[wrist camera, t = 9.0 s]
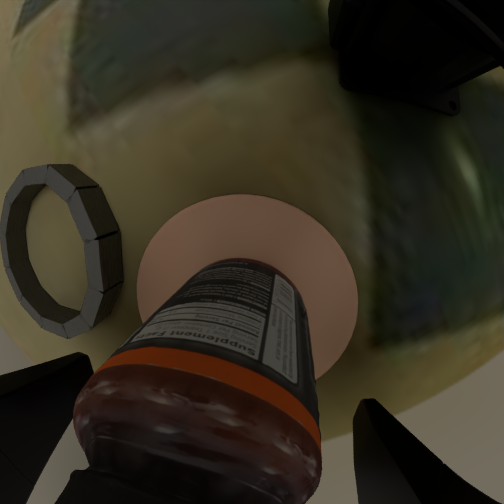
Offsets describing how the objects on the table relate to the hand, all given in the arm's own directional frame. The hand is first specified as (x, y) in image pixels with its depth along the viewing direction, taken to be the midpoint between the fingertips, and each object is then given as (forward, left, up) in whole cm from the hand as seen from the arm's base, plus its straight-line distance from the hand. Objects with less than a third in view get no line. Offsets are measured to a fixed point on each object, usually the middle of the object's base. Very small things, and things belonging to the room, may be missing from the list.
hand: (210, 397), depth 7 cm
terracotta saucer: (0, 0, -6) cm, 6 cm away
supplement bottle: (0, 0, -6) cm, 6 cm away
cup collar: (+12, -2, -6) cm, 14 cm away
